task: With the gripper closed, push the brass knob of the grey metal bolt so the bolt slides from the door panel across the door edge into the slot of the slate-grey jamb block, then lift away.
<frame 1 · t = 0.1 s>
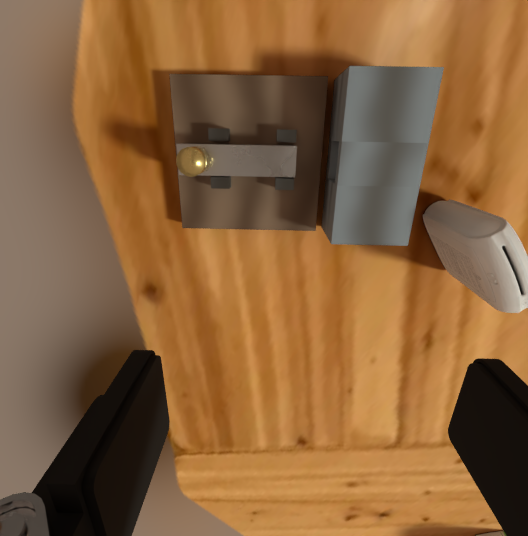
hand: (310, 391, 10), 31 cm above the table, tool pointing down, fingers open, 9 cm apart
photo printer: (446, 236, 40), on the table
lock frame: (292, 158, 37), on the table
bolt: (236, 160, 32), point 5 cm above the table, slide at 0.0 cm
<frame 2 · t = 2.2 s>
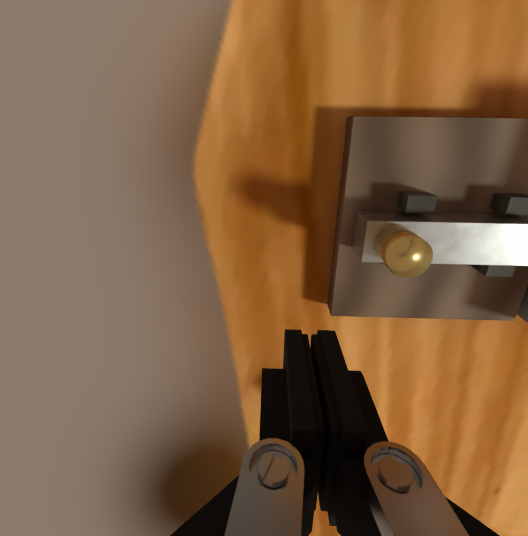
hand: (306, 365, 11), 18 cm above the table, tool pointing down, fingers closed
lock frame: (492, 225, 26), on the table
bolt: (451, 243, 22), point 5 cm above the table, slide at 0.0 cm
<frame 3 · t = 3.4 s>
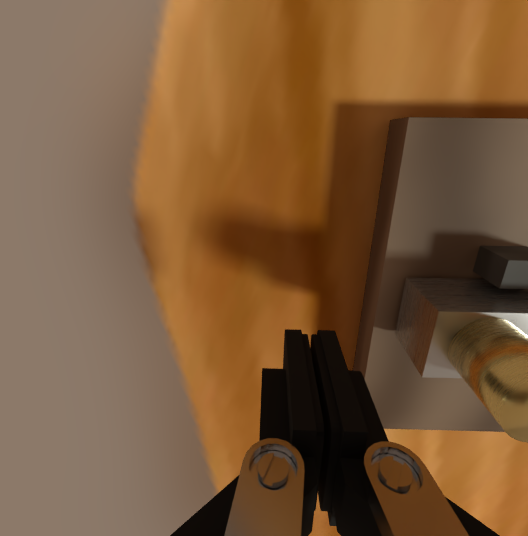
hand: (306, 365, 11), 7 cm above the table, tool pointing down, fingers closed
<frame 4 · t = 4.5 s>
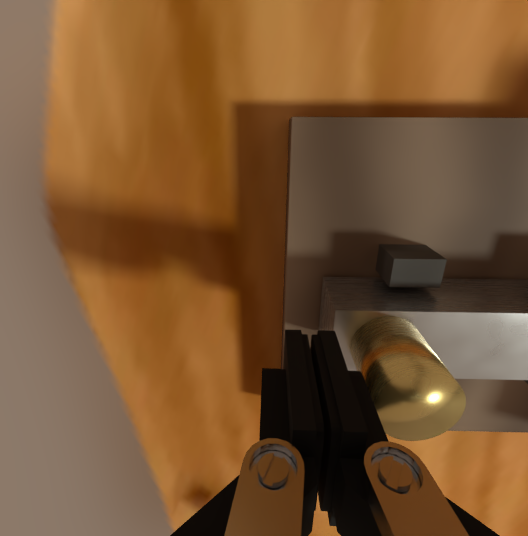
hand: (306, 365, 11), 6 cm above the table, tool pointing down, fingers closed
bolt: (491, 347, 12), point 5 cm above the table, slide at 0.6 cm, touching gripper
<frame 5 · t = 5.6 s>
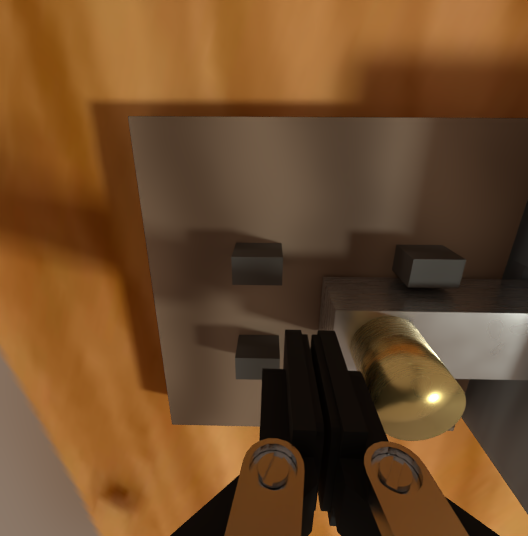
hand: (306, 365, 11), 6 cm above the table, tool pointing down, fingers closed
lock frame: (411, 287, 17), on the table
bolt: (491, 347, 12), point 5 cm above the table, slide at 6.9 cm, touching gripper
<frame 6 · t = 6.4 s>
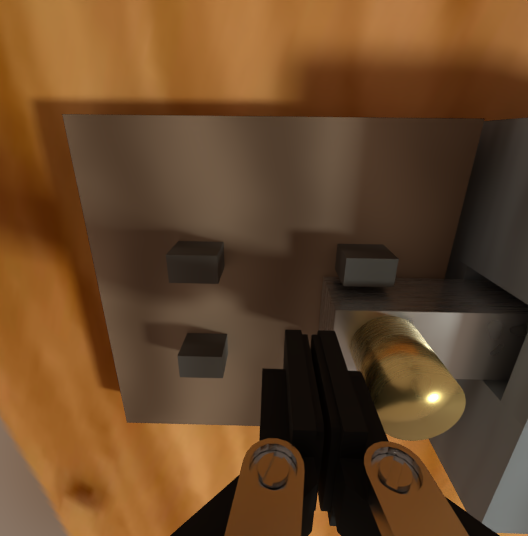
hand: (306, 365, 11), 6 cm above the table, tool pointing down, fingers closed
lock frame: (362, 286, 17), on the table
bolt: (491, 348, 12), point 5 cm above the table, slide at 9.5 cm, touching gripper
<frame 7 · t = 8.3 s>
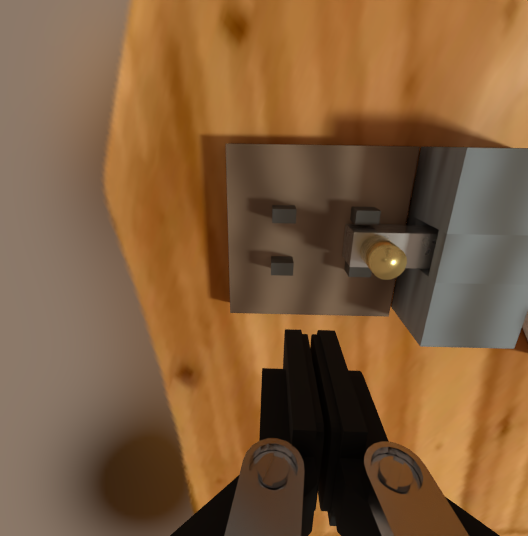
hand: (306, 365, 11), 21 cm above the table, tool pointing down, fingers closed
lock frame: (363, 233, 31), on the table
bolt: (425, 251, 26), point 5 cm above the table, slide at 9.6 cm
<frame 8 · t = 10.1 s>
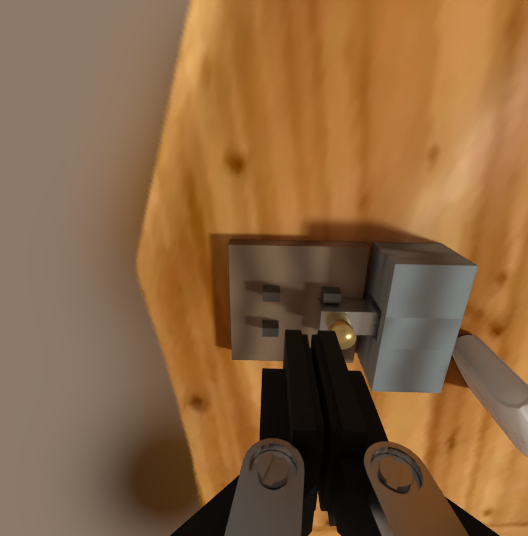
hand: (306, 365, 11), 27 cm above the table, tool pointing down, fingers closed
photo printer: (471, 361, 44), on the table
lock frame: (333, 301, 40), on the table
bolt: (373, 324, 35), point 5 cm above the table, slide at 9.6 cm
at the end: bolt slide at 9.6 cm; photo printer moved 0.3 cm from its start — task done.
